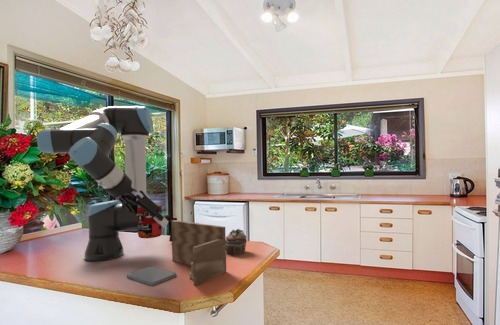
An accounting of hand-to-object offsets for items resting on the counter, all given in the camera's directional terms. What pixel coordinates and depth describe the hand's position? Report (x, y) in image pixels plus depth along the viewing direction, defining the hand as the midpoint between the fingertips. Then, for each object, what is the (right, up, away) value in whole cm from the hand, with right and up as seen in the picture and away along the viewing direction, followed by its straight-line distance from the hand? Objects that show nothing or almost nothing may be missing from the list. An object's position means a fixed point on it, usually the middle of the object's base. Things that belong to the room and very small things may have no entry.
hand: (158, 223), depth 110 cm
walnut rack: (+9, -18, +2) cm, 20 cm away
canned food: (-2, -4, -3) cm, 5 cm away
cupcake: (+26, -18, +24) cm, 40 cm away
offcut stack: (+16, -17, -3) cm, 24 cm away
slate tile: (-2, -18, -3) cm, 18 cm away
